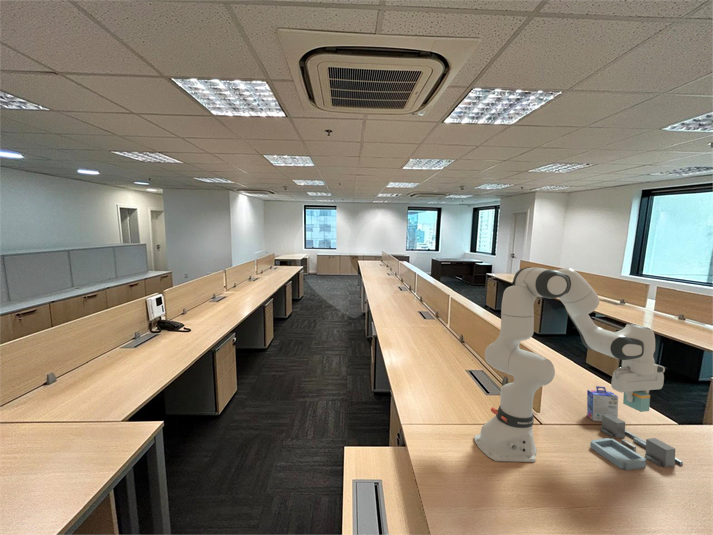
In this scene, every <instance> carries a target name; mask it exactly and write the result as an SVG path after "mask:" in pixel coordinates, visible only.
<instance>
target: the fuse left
mask: <svg viewBox="0 0 713 535" xmlns="http://www.w3.org/2000/svg"><path fill="white" fill-rule="evenodd" d="M601 427H603V428H605V429H607V430H608V431H610V432H612V433H613V434H614V437H613V438H615V439H624V438H625V437H626V436H625V430H626V421H624V420H622V419H620V418H619V417H618V418H616V417H615V416H613V415H611V414H606V415H602V421H601Z"/></svg>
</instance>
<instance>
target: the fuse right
mask: <svg viewBox="0 0 713 535" xmlns="http://www.w3.org/2000/svg"><path fill="white" fill-rule="evenodd" d="M645 441H646V449H645V454H646V453H647V454H649V455H651V456H653V457H654V458H656V459H658V460H659V461H661V462H662V466H661V467H664V468H665V469H666V468H672V467H675V465H676V463H675V458H676V448H675V447H673V446H671V445H669V444H667V443H665V442H663V441H662V440H660V439H658V438H656V437H652V438H651V437H650V438H645Z"/></svg>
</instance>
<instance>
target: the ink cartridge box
mask: <svg viewBox="0 0 713 535" xmlns="http://www.w3.org/2000/svg"><path fill="white" fill-rule="evenodd" d="M595 388H596V390H593V389H587V391H586V392H587V396H586V400H587V401H586V402H587V403H586V405H587V406H586V408H587V409H586V410H587V411H586V415H587V417H589V419H590V420H591V421H596V422H602V415H606V414H611V415H613V416H615V417H616V418H618V419H619V417H618V416H619V396H617V395H616V394H615V393H614V392H612V391H608V390H607V389H606V386H598V385H596V386H595Z"/></svg>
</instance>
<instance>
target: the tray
mask: <svg viewBox="0 0 713 535" xmlns="http://www.w3.org/2000/svg"><path fill="white" fill-rule="evenodd" d="M589 445H590V447H589V448H590V449H592V451H594V452H596V453H597V454H599V455H601V457H603V458H605V459H606V460H608V461H609V462H610V463H612V464H613V465H615V466H616V467H618V468H619V469H621V470H626V471H629V470H630V471H631V470H637V469H638V470H639V469H644V468H646V466H647V459H646V458H645V456H643V455H640V454H639V453H637V452H635V451H633V450H631V449H630V448H628V447H626V446H625V445H623V444H622V443H621V442H619V441H617V439H614V438H609V437H607V438H606V437H605V438H599V439H598V438H597V439H591V441H590V444H589Z"/></svg>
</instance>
